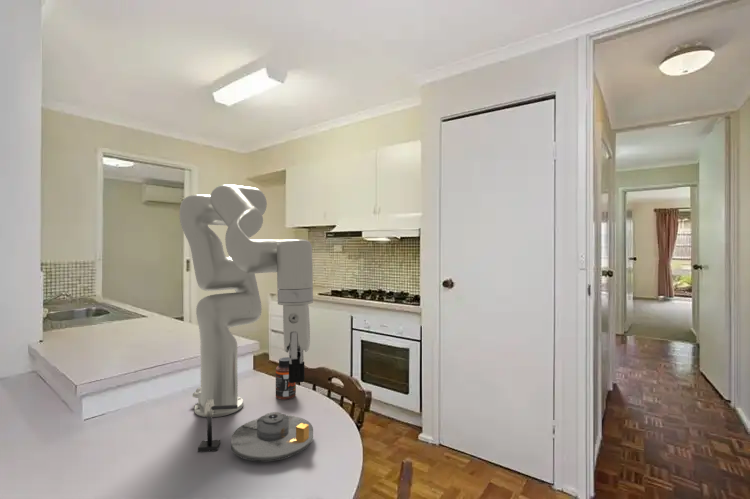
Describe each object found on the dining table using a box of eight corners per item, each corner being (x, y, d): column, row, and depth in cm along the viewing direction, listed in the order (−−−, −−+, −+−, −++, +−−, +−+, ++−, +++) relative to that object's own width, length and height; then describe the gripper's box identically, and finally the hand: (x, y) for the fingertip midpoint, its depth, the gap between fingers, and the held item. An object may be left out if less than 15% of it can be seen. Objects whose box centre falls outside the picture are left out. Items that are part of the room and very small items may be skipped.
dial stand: (197, 452, 85) (197, 403, 85) (202, 444, 89) (202, 397, 88) (235, 450, 86) (235, 402, 86) (239, 442, 90) (239, 395, 89)
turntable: (212, 450, 84) (212, 429, 84) (266, 416, 101) (266, 398, 100) (282, 469, 77) (282, 446, 77) (327, 429, 94) (327, 410, 94)
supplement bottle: (291, 401, 113) (290, 362, 113) (271, 399, 114) (271, 361, 114) (299, 393, 119) (299, 356, 119) (280, 392, 120) (280, 355, 120)
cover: (250, 435, 87) (250, 418, 87) (272, 423, 93) (272, 407, 93) (273, 444, 84) (273, 426, 84) (295, 430, 90) (295, 413, 90)
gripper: (311, 300, 77) (312, 392, 77) (314, 292, 92) (315, 369, 92) (272, 301, 77) (274, 394, 77) (281, 293, 91) (283, 371, 91)
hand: (296, 381), depth 84 cm, fingers closed
